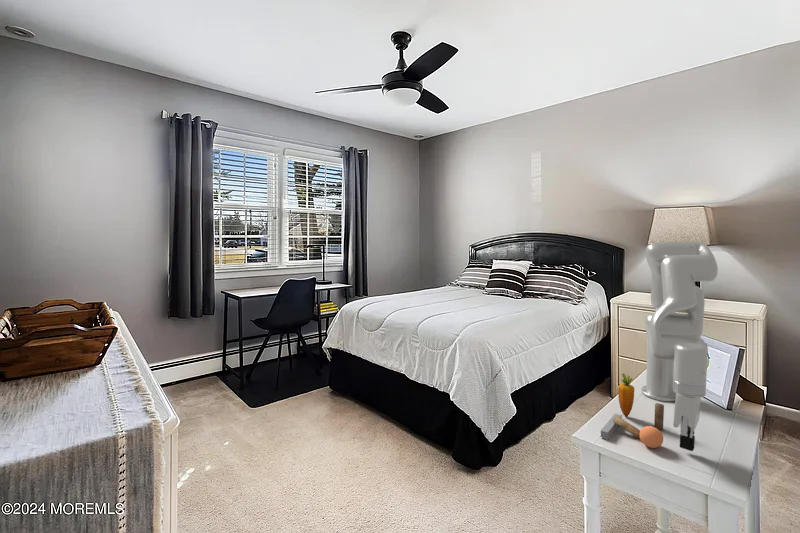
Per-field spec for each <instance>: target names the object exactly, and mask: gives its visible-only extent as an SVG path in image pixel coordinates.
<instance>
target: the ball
mask: <svg viewBox="0 0 800 533" xmlns="http://www.w3.org/2000/svg"><path fill="white" fill-rule="evenodd" d="M639 430H640V433H639V436H640V437H639V439H640V441H641V442H642V444H643V445H645V446H646V447H648V448H651V449H657V448H660V447H661V446H662V444H663V443H664V436H663V433H662V432H661V431H659V430H658V429H657V428H655V427H654V426H652V425H646V426H643V427H642V428H641V429H639Z"/></svg>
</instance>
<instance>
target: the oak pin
mask: <svg viewBox="0 0 800 533" xmlns="http://www.w3.org/2000/svg"><path fill="white" fill-rule="evenodd" d="M613 422H614V423H616V424H617V425H619V426H618V427H621V428H622V429H623V430H625V431H626V432H628V433H629V434H631V435H632V436H634V437H635V438H637V439H640V436H639V433H640V430H641V429H639V428H637V427H636V426H634V425H633V424H631V423H630V422H628V421H626V420H625V419H623V417H622V418H620V417H619V416H617V415H616V416H615V417H614V419H613Z"/></svg>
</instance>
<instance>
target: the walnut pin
mask: <svg viewBox="0 0 800 533" xmlns="http://www.w3.org/2000/svg"><path fill="white" fill-rule="evenodd" d="M664 415H665V405H664V404H662V403H658V402H656V403H655V404H654V422H653V423H654V425H653V427H655V428H657V429H658V430H659V431H660V432H661V431H664V419H665V418H664V417H665V416H664Z"/></svg>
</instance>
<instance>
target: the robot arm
mask: <svg viewBox="0 0 800 533" xmlns="http://www.w3.org/2000/svg"><path fill="white" fill-rule="evenodd" d="M645 258H646V262H647V264H648V266H649V269H650V272H651V282H650V284H651V285H650V286H651V287H650V303H651V306H652V308H653V309H655V311H654V312H653V313H652V312H651V313H649V314H648V315H647V316H646V317H645V319H644V326H645V332H646V334H645V335H646V347H647V348H646V380H645V381H646V383H645V384H646V385H644V386H642V387H641V394H643V395H645V396H646V397H647V398H649V399H653V400H657V401H662V402H670V403H671V402H675V403H674V412H673V422H672V423H673V424H672V425H673V427H674V428H678V427H679V426H680V434H679V448H681V449H683V450H687V451H691V452H693V451H694V450H695V444H696V443H695V442H696V440H695V439H696V438H695V437H696V436H695V432H696V431H695V430H696V428H697V427H698V423H699V421H700V416H701V414H700V413H701V398H704V397H706V395H707V394H706V393H707V376H708V375H707V372H708V371H707V368H708V354H709V353H708V352H709V348H708V344H707V343H706V342H705V340H704V339H703V338H702V335H703V331H704V329H703V328H704V319H705V318H704V317H705V315H704V314H705V294H704V290H702V288H701V287H699V286H697V285H696V283H695V282H713V281H715V280H716V278H717V276H718V270H719V269H718V264H717V260H716V257H715V256H714V253H713V252H712V251H711V250H710V247H709V246H708V244H706V243H705V242H703V241H659V242H652V243H649V244H648V245H647V247H646V248H645ZM678 312H679V313H678ZM680 312H683V313H680ZM684 312H685V313H684Z"/></svg>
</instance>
